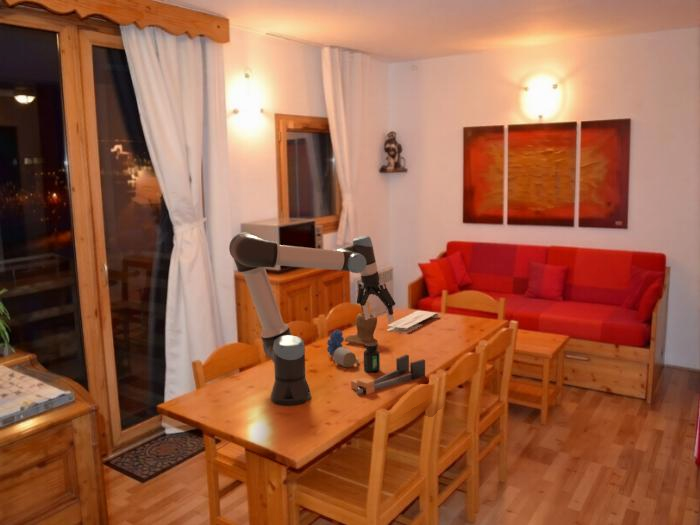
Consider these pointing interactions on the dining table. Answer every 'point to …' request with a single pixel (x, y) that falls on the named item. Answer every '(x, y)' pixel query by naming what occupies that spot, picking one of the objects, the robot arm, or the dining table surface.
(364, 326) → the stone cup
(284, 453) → the dining table surface
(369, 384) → the lock collar
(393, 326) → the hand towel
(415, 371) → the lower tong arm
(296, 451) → the dining table surface
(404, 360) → the upper tong arm
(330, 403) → the dining table surface
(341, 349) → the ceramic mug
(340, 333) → the grapes
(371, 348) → the supplement bottle
